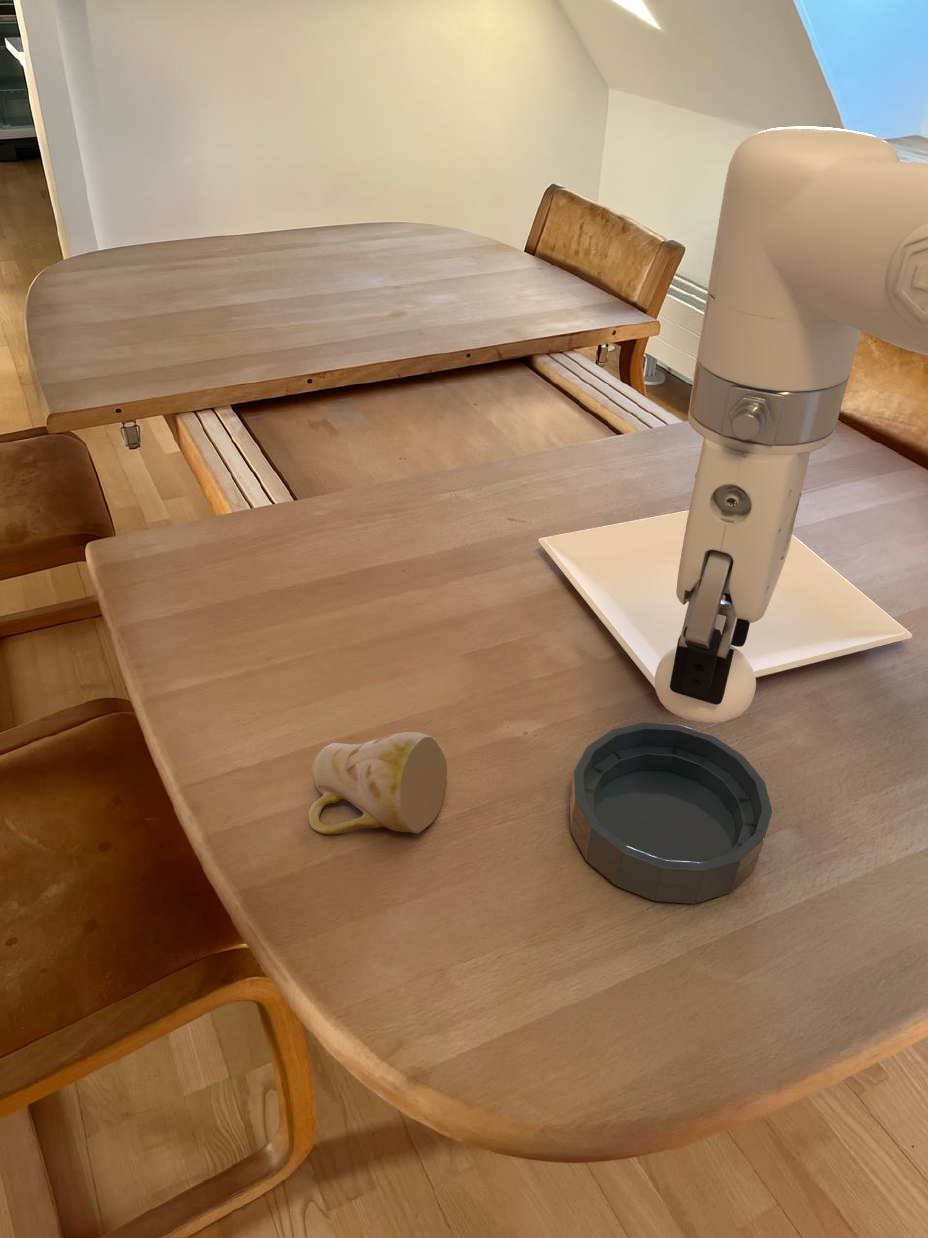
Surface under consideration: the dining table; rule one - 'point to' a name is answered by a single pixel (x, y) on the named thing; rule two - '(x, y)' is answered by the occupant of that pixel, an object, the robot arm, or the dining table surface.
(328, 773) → the mug
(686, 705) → the garlic bulb
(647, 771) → the bowl
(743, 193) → the robot arm
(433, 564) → the dining table surface
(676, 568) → the plate
